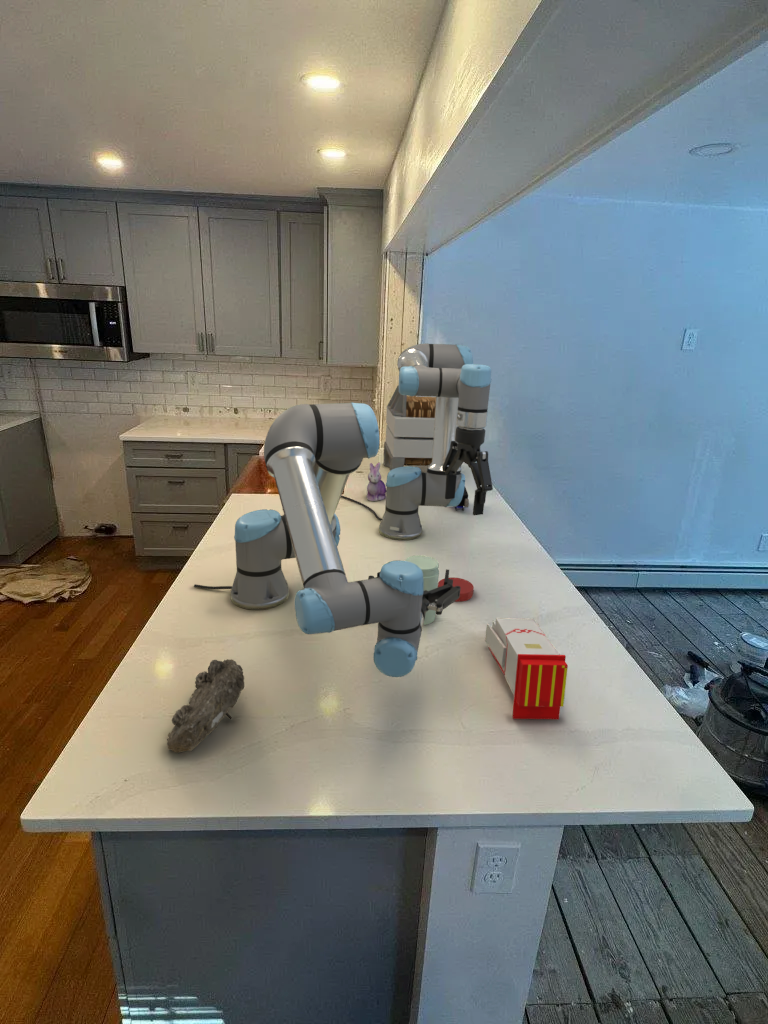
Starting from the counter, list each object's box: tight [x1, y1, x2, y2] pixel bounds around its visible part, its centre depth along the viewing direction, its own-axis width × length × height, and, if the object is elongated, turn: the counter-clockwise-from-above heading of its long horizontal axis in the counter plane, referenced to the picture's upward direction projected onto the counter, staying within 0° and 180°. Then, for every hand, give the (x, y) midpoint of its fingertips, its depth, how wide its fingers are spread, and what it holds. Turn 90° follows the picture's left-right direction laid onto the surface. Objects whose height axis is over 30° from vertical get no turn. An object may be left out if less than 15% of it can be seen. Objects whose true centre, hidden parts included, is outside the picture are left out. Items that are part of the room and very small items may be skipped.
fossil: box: [166, 658, 245, 754], centre depth 106 cm, size 22×10×15 cm
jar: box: [404, 554, 440, 626], centre depth 144 cm, size 9×9×16 cm
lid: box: [438, 576, 475, 603], centre depth 159 cm, size 10×10×2 cm
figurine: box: [365, 462, 387, 502], centre depth 233 cm, size 9×10×15 cm
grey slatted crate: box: [383, 384, 462, 472], centre depth 268 cm, size 34×33×41 cm
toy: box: [484, 617, 569, 720], centre depth 122 cm, size 12×13×30 cm
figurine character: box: [454, 486, 470, 512], centre depth 229 cm, size 7×8×15 cm
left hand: (417, 571), depth 131 cm, fingers open, 13 cm apart
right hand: (463, 506), depth 151 cm, fingers open, 13 cm apart
